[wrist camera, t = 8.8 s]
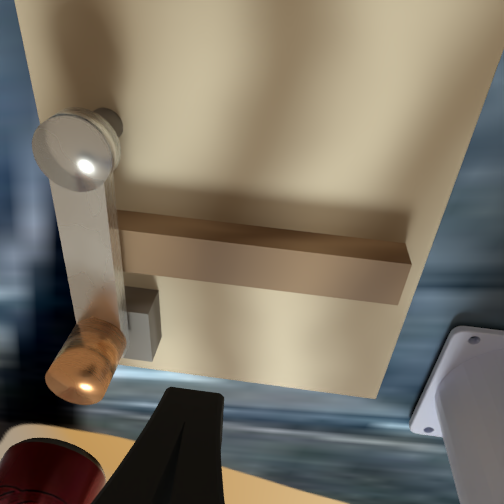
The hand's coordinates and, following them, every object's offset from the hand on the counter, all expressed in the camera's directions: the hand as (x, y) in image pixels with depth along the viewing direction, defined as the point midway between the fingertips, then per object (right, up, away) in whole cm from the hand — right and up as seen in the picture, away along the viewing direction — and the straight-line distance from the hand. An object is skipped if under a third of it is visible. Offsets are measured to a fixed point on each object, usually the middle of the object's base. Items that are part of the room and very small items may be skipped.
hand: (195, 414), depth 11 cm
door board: (+1, +5, +8) cm, 9 cm away
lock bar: (-4, +4, +6) cm, 8 cm away
